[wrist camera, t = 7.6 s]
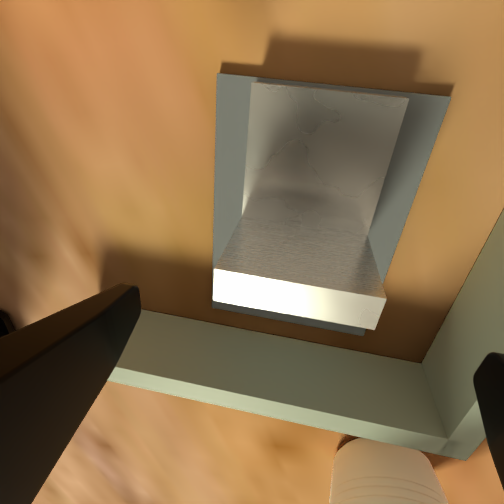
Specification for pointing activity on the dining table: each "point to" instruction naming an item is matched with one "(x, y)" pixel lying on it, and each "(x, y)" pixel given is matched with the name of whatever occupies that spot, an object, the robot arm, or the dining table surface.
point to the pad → (390, 200)
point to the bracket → (311, 204)
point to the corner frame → (335, 370)
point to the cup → (383, 475)
